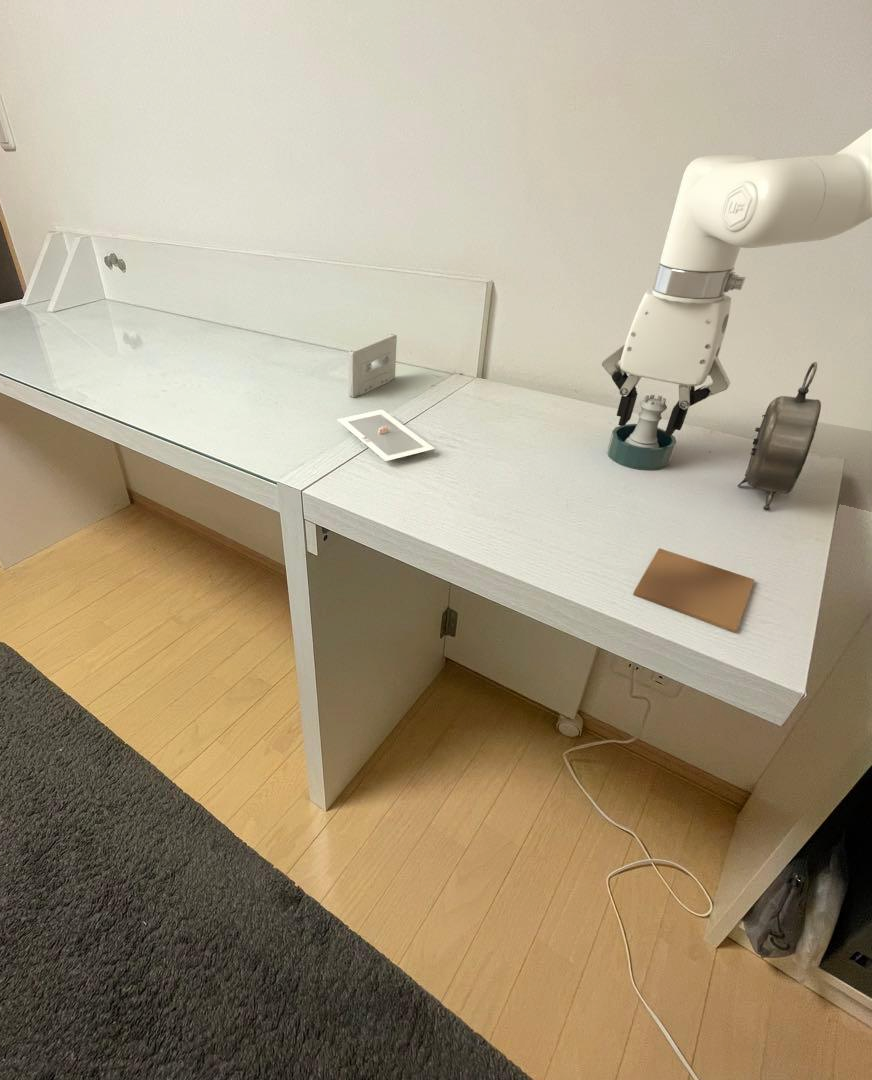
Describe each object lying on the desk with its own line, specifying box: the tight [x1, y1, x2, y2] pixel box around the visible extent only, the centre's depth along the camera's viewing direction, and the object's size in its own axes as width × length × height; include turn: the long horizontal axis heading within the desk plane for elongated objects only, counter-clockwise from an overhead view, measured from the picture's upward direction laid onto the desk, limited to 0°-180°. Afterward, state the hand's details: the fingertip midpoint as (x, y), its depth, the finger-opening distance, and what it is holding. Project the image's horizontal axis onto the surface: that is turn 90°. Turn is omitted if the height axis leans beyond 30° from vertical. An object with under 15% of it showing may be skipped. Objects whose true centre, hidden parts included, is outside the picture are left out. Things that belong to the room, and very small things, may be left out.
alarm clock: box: [737, 361, 822, 511], centre depth 70 cm, size 11×5×16 cm, turn 147°
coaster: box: [632, 547, 755, 634], centre depth 60 cm, size 9×9×1 cm
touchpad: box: [336, 409, 436, 462], centre depth 88 cm, size 8×15×2 cm, turn 25°
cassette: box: [348, 333, 398, 398], centre depth 103 cm, size 12×2×8 cm, turn 139°
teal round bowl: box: [606, 423, 677, 471], centre depth 82 cm, size 8×8×3 cm
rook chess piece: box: [625, 394, 668, 448], centre depth 81 cm, size 4×4×8 cm
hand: (647, 426), depth 81 cm, fingers open, 5 cm apart
